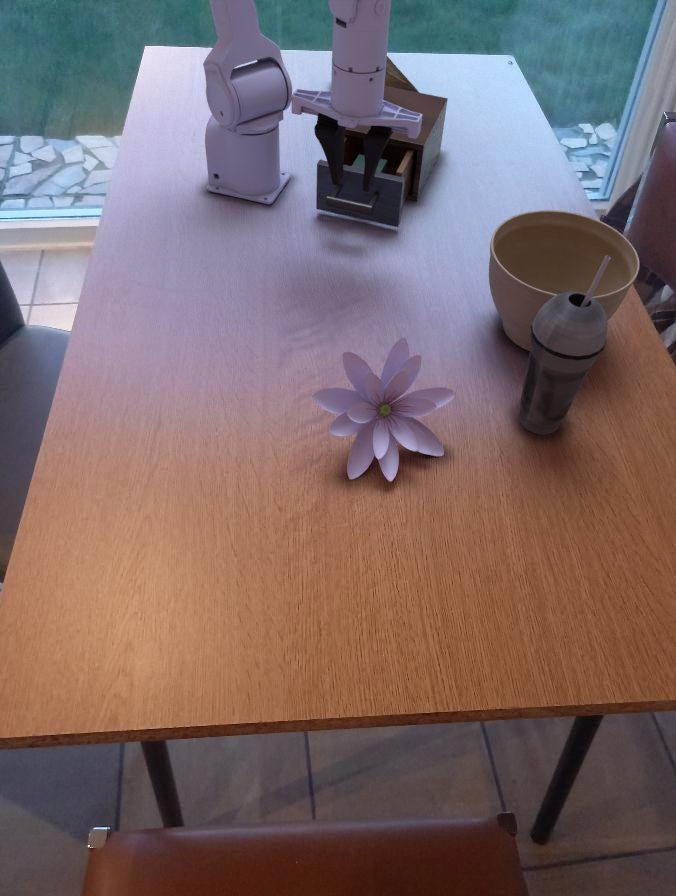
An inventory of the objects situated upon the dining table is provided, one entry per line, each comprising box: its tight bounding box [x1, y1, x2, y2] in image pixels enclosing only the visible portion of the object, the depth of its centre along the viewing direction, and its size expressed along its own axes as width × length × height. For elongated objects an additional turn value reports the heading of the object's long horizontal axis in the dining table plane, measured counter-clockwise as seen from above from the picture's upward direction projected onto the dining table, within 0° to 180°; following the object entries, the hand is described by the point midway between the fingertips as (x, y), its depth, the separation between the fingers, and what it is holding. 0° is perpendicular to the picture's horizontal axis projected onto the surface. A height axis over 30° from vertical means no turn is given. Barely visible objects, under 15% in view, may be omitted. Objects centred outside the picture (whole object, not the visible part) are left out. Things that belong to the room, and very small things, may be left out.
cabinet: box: [345, 86, 448, 203], centre depth 110 cm, size 15×13×8 cm
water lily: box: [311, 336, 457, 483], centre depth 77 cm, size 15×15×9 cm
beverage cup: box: [518, 256, 610, 435], centre depth 75 cm, size 7×7×20 cm
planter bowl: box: [488, 209, 640, 352], centre depth 88 cm, size 16×16×11 cm
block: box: [352, 154, 387, 174], centre depth 103 cm, size 4×4×4 cm
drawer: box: [315, 135, 418, 228], centre depth 103 cm, size 18×11×6 cm, turn 164°
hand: (352, 184), depth 92 cm, fingers open, 3 cm apart
